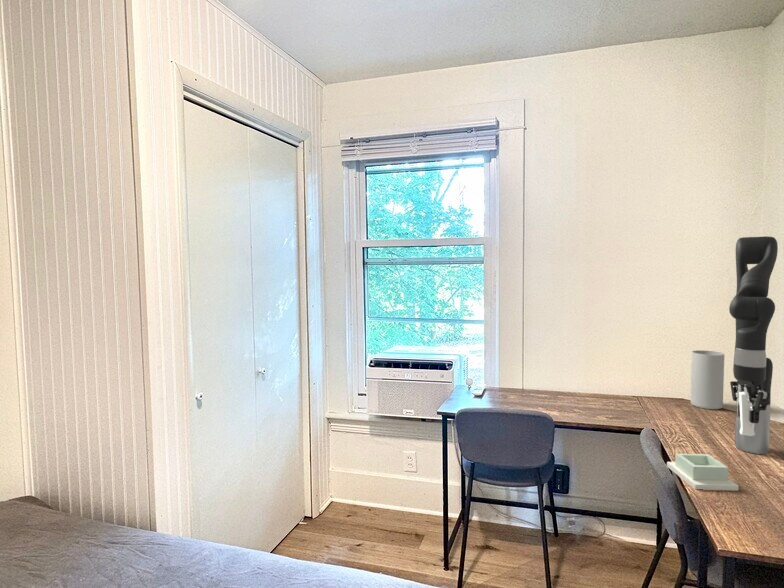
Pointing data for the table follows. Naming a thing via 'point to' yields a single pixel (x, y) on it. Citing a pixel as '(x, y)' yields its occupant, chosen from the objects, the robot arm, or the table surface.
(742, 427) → the perfume bottle
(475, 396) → the table surface
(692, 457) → the stand
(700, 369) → the cylinder vase
